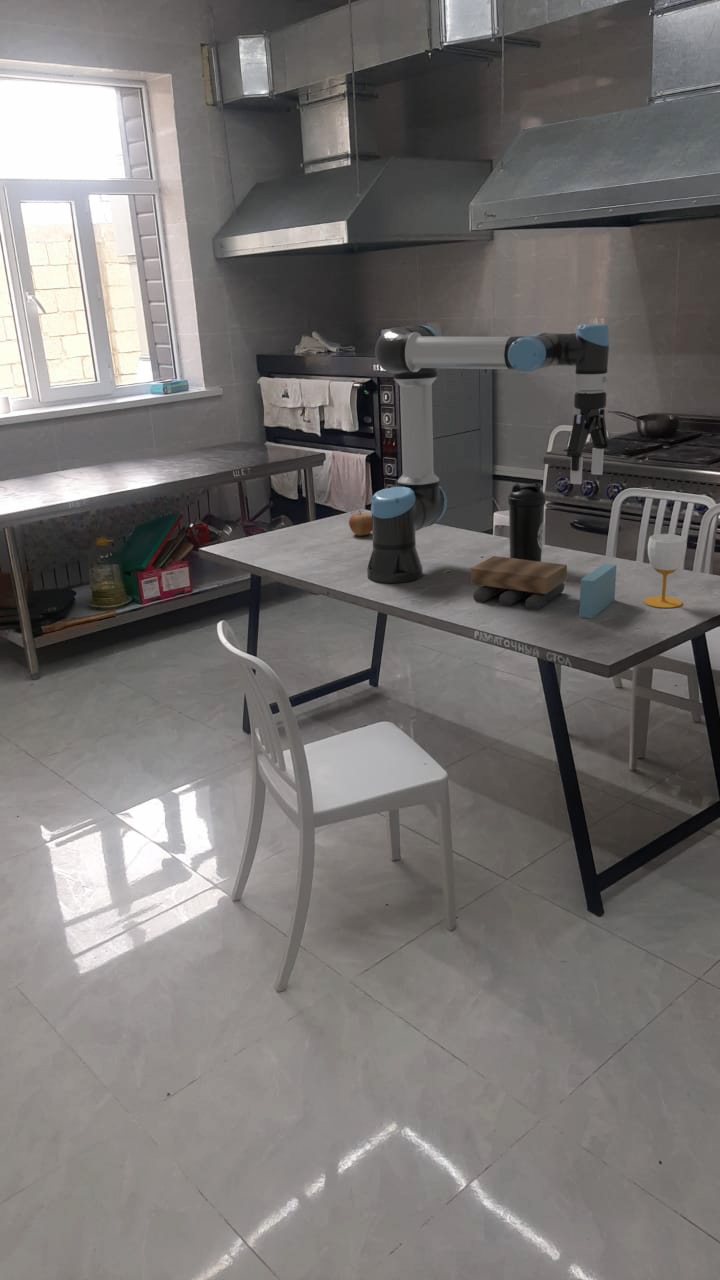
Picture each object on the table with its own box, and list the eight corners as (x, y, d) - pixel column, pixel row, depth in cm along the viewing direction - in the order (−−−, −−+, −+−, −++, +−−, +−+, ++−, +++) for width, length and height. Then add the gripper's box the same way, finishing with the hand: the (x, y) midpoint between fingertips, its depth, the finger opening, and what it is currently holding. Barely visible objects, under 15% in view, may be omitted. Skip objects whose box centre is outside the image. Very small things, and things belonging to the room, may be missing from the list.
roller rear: (485, 604, 239) (486, 590, 238) (472, 601, 241) (473, 588, 240) (512, 587, 252) (513, 574, 250) (500, 584, 254) (501, 572, 252)
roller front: (538, 612, 232) (540, 598, 231) (524, 608, 234) (526, 595, 232) (563, 594, 244) (565, 581, 243) (550, 591, 246) (552, 578, 245)
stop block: (579, 616, 226) (580, 579, 223) (602, 598, 239) (604, 563, 236) (591, 618, 225) (593, 581, 222) (614, 599, 237) (616, 564, 234)
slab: (471, 583, 241) (471, 568, 240) (493, 570, 252) (493, 556, 250) (546, 594, 231) (546, 578, 230) (566, 580, 241) (567, 564, 240)
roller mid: (511, 608, 236) (512, 594, 234) (498, 605, 237) (499, 591, 236) (537, 590, 248) (538, 578, 247) (524, 588, 250) (526, 575, 249)
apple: (347, 538, 308) (346, 513, 305) (351, 532, 315) (350, 507, 312) (372, 538, 306) (371, 513, 304) (376, 532, 314) (375, 507, 311)
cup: (676, 610, 228) (681, 544, 223) (638, 605, 233) (642, 540, 227) (686, 600, 235) (692, 535, 230) (649, 595, 240) (654, 532, 234)
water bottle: (543, 571, 263) (545, 487, 255) (505, 570, 265) (507, 487, 258) (544, 561, 273) (546, 480, 265) (507, 561, 275) (509, 480, 267)
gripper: (585, 397, 221) (581, 489, 229) (623, 386, 241) (619, 471, 248) (554, 396, 225) (551, 486, 233) (595, 386, 245) (591, 469, 252)
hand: (586, 479), depth 240 cm, fingers open, 13 cm apart
